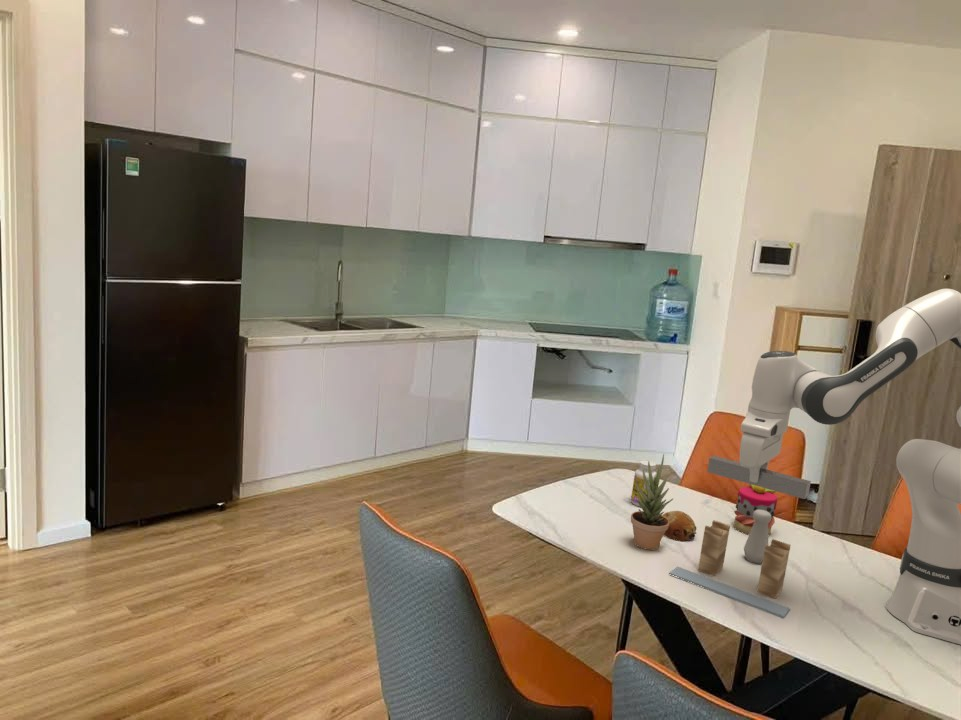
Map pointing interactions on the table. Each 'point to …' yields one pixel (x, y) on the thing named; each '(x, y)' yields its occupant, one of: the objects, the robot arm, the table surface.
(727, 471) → the bar
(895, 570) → the table surface
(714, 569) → the stand far
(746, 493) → the cake
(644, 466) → the supplement bottle
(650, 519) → the potted plant
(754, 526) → the salt shaker
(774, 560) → the stand near
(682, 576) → the grey flat bar
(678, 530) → the bread roll
